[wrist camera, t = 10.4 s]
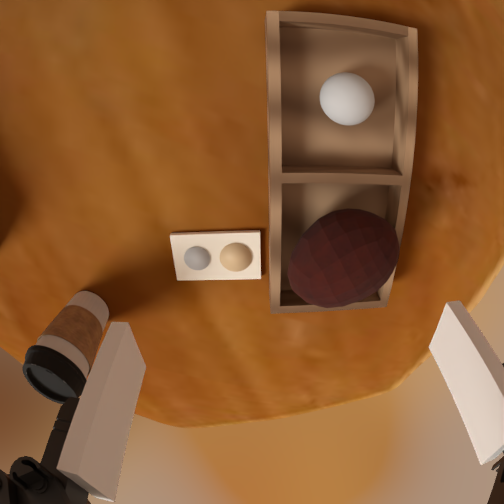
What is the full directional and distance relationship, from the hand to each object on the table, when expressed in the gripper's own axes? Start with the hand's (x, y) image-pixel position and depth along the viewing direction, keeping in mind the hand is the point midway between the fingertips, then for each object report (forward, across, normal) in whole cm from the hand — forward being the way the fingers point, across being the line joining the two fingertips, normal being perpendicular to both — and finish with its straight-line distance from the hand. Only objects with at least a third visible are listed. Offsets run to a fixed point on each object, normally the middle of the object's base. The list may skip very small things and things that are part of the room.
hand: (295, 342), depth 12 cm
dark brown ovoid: (+22, +7, -7) cm, 25 cm away
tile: (+23, -6, -10) cm, 26 cm away
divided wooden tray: (+23, +7, 0) cm, 24 cm away
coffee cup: (+23, -25, -17) cm, 38 cm away
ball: (+23, +7, +8) cm, 25 cm away
